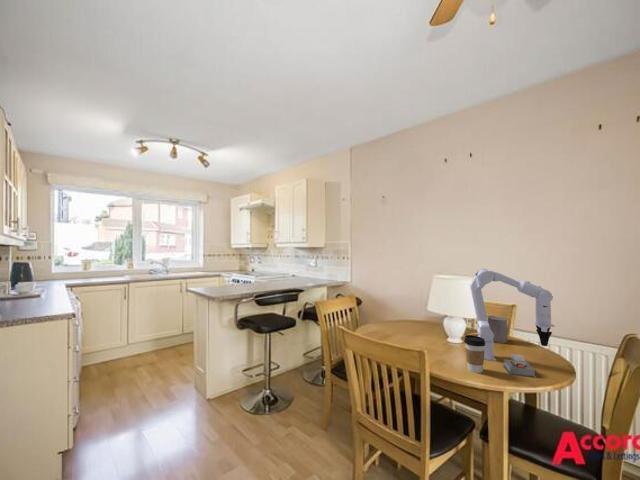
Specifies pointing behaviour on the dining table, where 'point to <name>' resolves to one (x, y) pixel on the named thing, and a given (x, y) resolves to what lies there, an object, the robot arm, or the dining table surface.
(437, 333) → the dining table surface
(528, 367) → the stand base
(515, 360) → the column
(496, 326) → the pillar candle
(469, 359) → the coffee cup
